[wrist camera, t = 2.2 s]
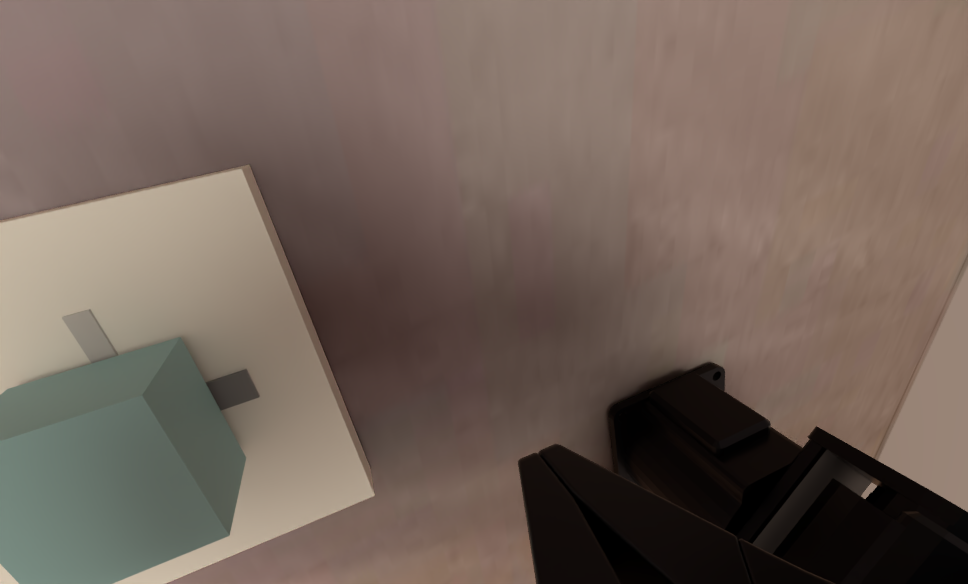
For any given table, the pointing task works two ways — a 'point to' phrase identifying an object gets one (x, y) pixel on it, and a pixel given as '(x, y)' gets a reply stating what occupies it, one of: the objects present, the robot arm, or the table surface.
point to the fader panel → (190, 336)
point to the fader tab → (114, 469)
